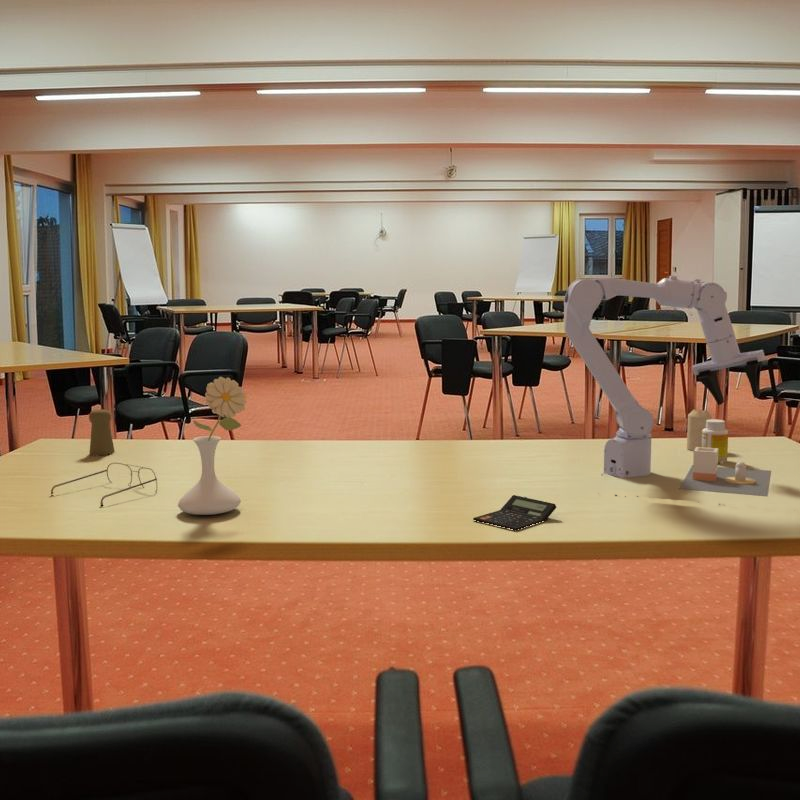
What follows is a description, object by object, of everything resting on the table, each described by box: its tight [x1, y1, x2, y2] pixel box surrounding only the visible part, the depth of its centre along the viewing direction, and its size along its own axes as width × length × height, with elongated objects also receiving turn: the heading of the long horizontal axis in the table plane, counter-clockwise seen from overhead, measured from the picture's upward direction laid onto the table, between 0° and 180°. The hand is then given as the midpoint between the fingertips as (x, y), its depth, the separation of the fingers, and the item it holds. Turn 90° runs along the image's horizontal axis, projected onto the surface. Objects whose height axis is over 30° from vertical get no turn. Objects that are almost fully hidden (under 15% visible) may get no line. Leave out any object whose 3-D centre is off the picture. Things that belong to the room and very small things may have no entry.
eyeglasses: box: [50, 462, 158, 506], centre depth 177 cm, size 16×15×5 cm
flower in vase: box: [177, 376, 247, 516], centre depth 160 cm, size 13×11×25 cm
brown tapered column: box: [88, 408, 116, 456], centre depth 218 cm, size 6×6×11 cm
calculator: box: [472, 494, 557, 530], centre depth 154 cm, size 9×12×3 cm
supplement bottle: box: [702, 418, 729, 465], centre depth 197 cm, size 6×6×10 cm
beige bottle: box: [686, 408, 713, 452], centre depth 215 cm, size 6×6×10 cm
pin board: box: [678, 461, 772, 497], centre depth 179 cm, size 24×16×5 cm, turn 156°
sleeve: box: [692, 447, 719, 481], centre depth 180 cm, size 4×4×6 cm
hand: (739, 400), depth 183 cm, fingers open, 7 cm apart
